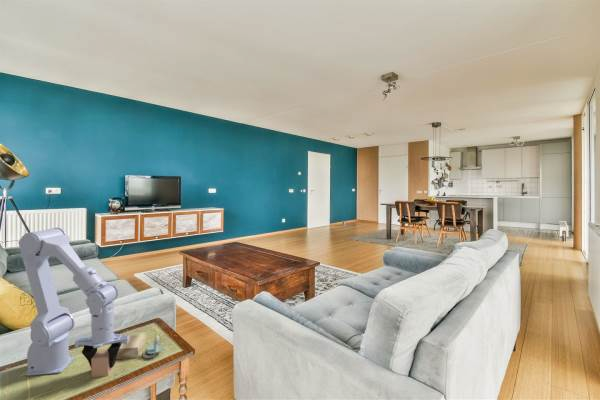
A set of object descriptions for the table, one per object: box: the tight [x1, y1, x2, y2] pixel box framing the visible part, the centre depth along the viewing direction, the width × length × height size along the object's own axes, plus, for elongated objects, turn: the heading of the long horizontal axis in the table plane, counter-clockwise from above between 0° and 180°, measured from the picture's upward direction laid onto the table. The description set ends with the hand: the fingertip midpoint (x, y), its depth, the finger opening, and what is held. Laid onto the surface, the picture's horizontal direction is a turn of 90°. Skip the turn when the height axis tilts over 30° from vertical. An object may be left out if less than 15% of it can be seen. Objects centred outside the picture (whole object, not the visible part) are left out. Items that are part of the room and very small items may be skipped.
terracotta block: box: [91, 348, 115, 378], centre depth 89 cm, size 4×4×6 cm
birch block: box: [116, 334, 146, 360], centre depth 100 cm, size 8×8×4 cm
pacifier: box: [142, 334, 163, 359], centre depth 99 cm, size 7×6×6 cm
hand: (103, 366), depth 89 cm, fingers closed on terracotta block, 4 cm apart
